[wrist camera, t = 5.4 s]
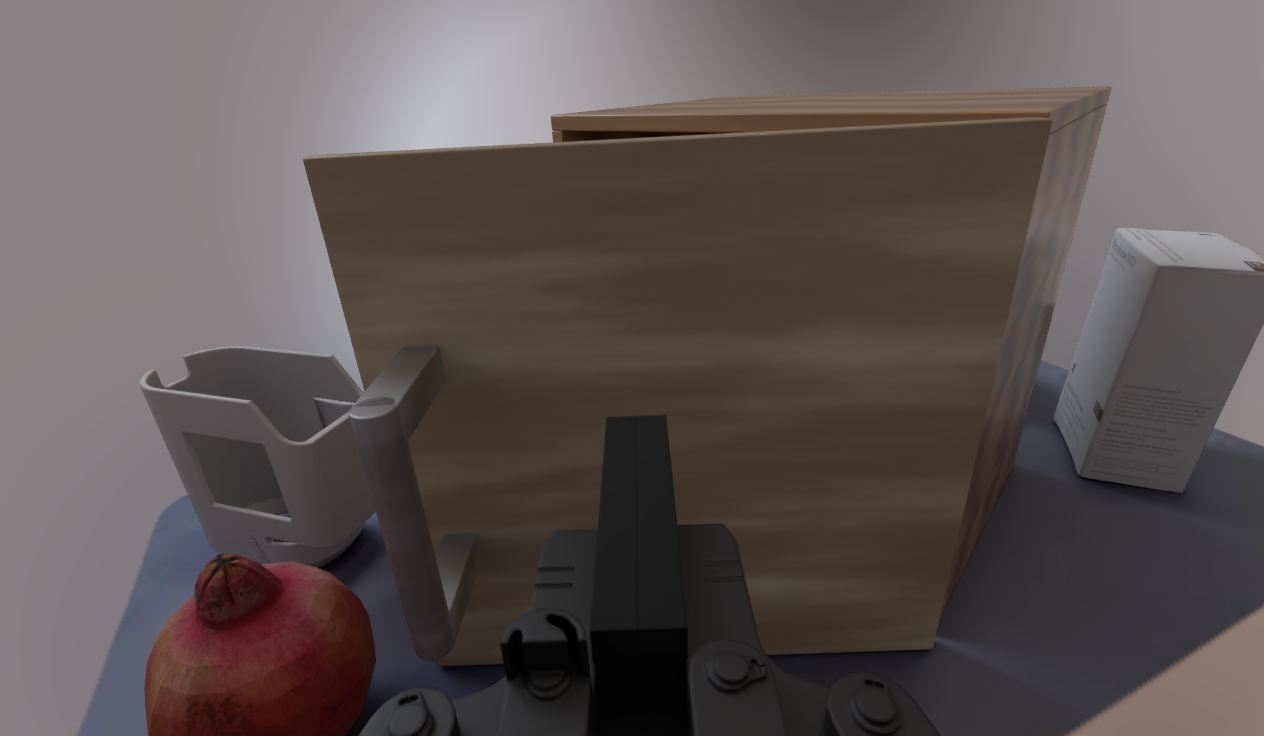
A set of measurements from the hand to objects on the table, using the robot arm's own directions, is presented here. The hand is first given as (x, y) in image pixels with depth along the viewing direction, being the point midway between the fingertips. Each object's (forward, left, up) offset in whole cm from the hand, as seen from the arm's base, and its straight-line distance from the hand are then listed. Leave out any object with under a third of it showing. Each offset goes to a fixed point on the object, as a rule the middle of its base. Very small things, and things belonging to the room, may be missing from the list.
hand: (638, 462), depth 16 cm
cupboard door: (+2, -5, -16) cm, 17 cm away
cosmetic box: (-10, -38, -16) cm, 43 cm away
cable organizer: (+27, +1, -16) cm, 31 cm away
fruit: (+15, +7, -16) cm, 23 cm away
